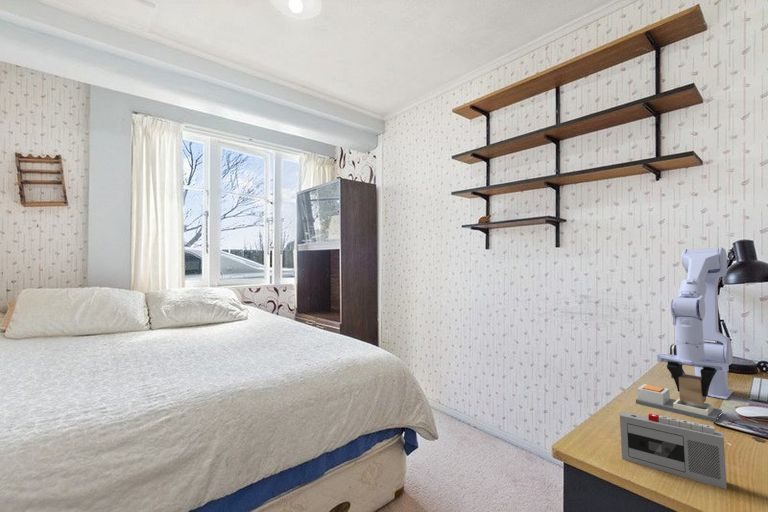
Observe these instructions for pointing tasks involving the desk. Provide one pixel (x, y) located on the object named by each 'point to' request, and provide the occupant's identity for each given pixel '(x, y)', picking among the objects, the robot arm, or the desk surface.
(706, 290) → the robot arm
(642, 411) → the desk surface
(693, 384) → the block
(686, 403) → the grey tray with holders
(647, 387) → the button
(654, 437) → the cassette player
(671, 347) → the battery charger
